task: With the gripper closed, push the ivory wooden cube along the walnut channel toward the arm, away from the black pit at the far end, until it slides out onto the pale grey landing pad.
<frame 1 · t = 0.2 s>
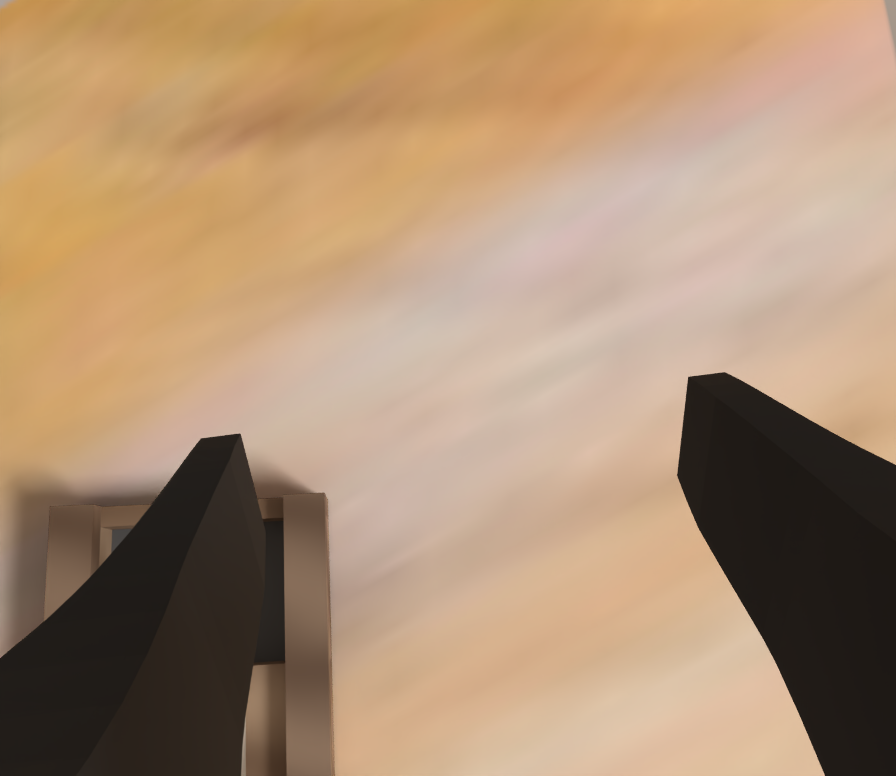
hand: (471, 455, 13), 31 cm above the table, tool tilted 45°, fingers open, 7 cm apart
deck: (199, 774, 39), on the table
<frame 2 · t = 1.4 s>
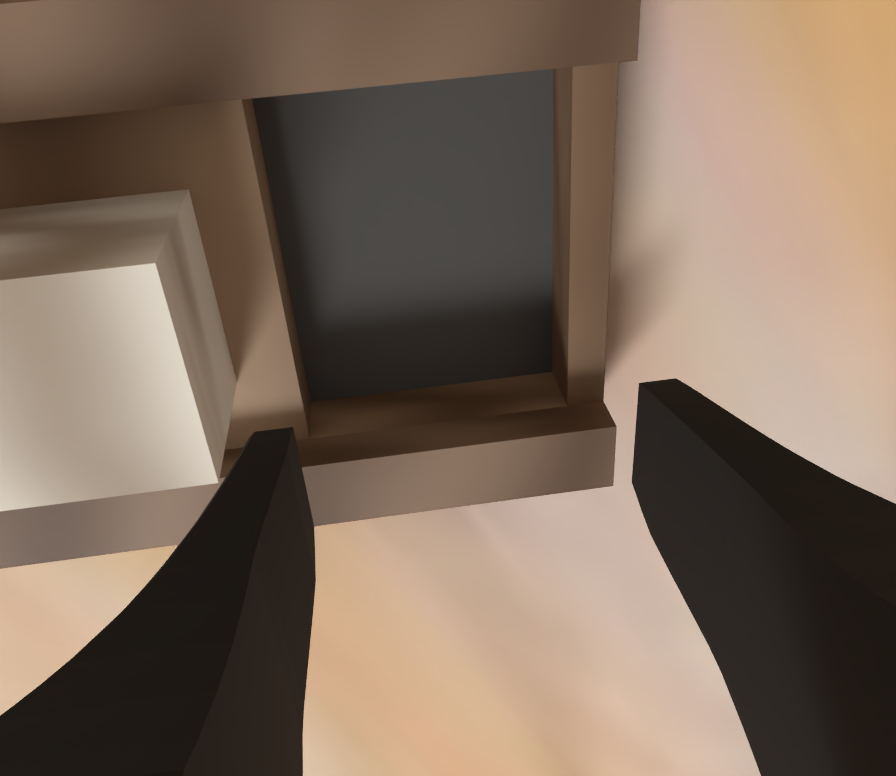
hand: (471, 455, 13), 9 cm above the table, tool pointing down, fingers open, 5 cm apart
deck: (84, 274, 20), on the table
cube: (105, 305, 19), point 2 cm above the table, touching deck
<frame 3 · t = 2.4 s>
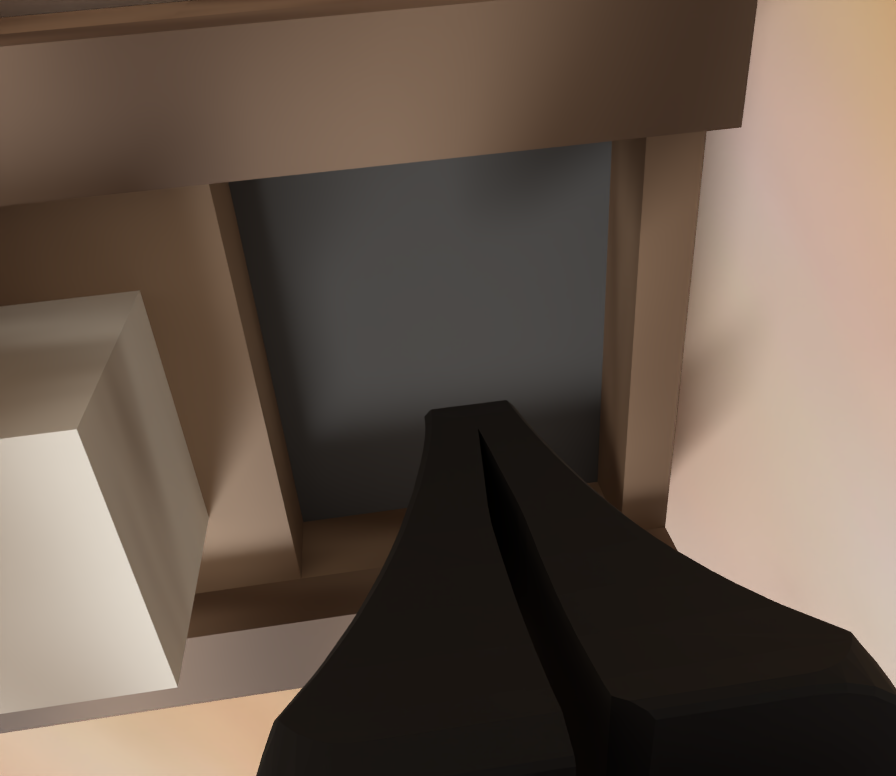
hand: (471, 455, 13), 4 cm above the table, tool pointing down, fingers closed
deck: (15, 381, 16), on the table
cube: (36, 432, 14), point 2 cm above the table, touching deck
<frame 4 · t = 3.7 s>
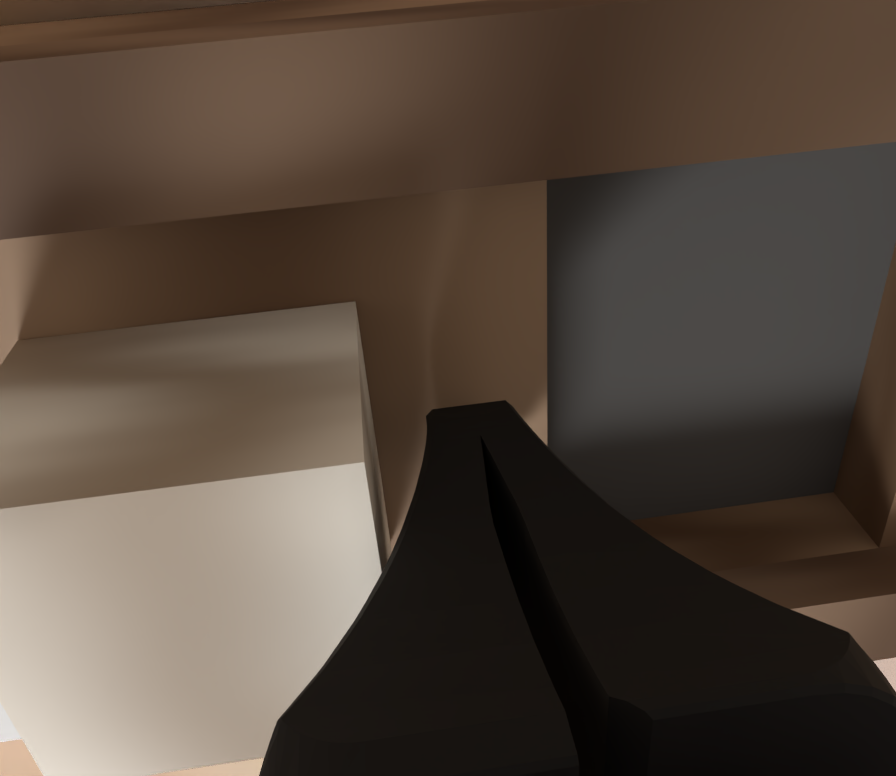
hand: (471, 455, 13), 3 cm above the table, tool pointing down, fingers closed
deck: (262, 387, 15), on the table
cube: (225, 453, 13), point 2 cm above the table, touching gripper
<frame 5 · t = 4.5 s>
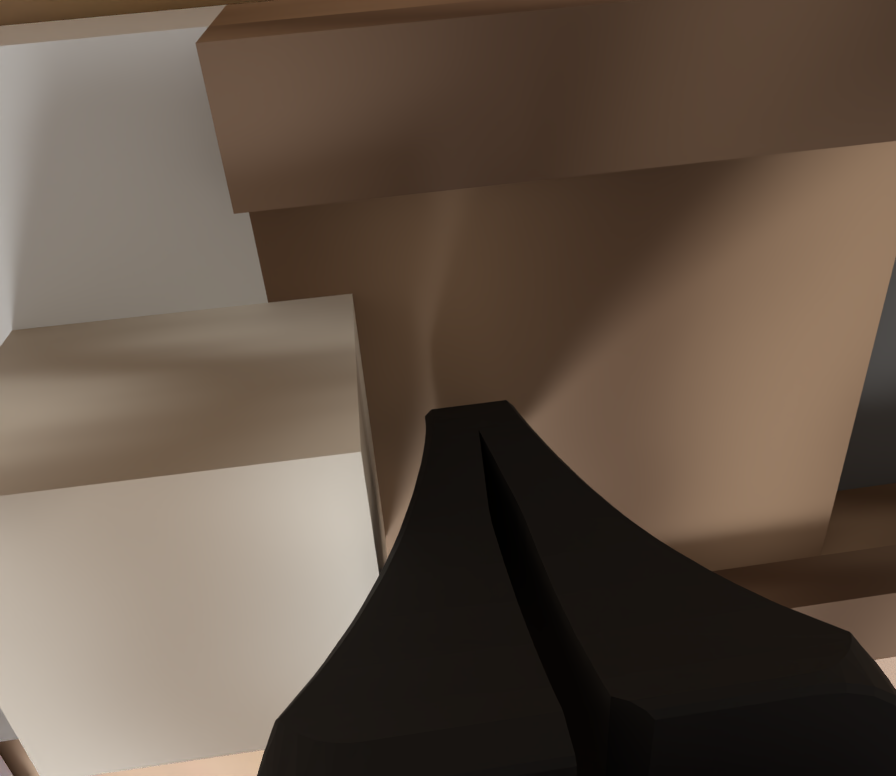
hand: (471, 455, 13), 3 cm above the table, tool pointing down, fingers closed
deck: (561, 349, 16), on the table
cube: (220, 445, 13), point 2 cm above the table, touching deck, gripper
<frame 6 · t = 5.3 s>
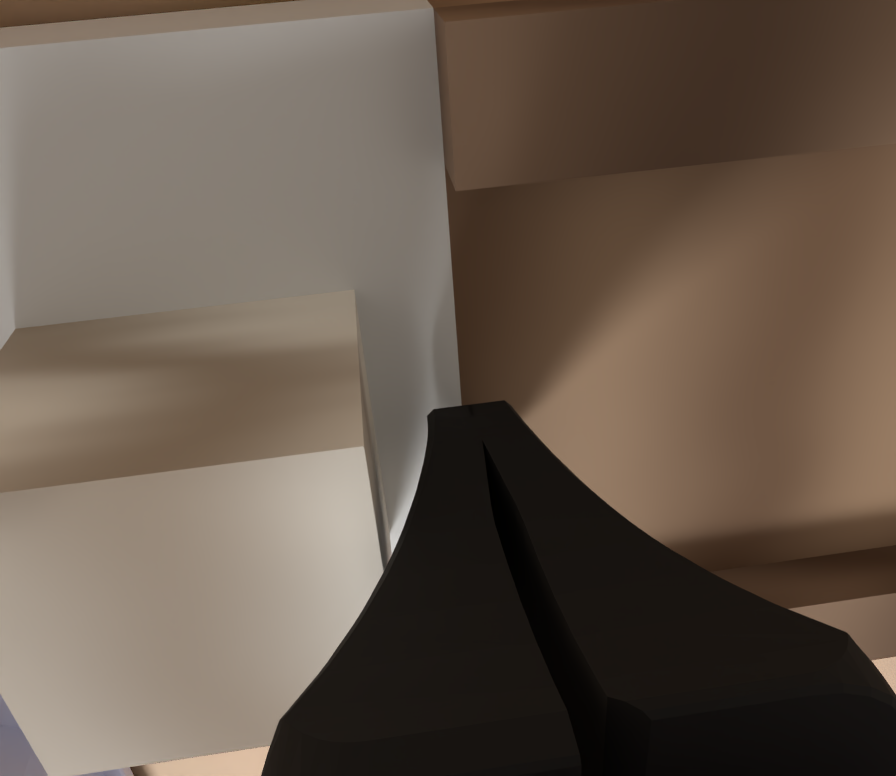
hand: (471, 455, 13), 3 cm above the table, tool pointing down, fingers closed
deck: (700, 333, 16), on the table
cube: (223, 443, 13), point 2 cm above the table, touching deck, gripper
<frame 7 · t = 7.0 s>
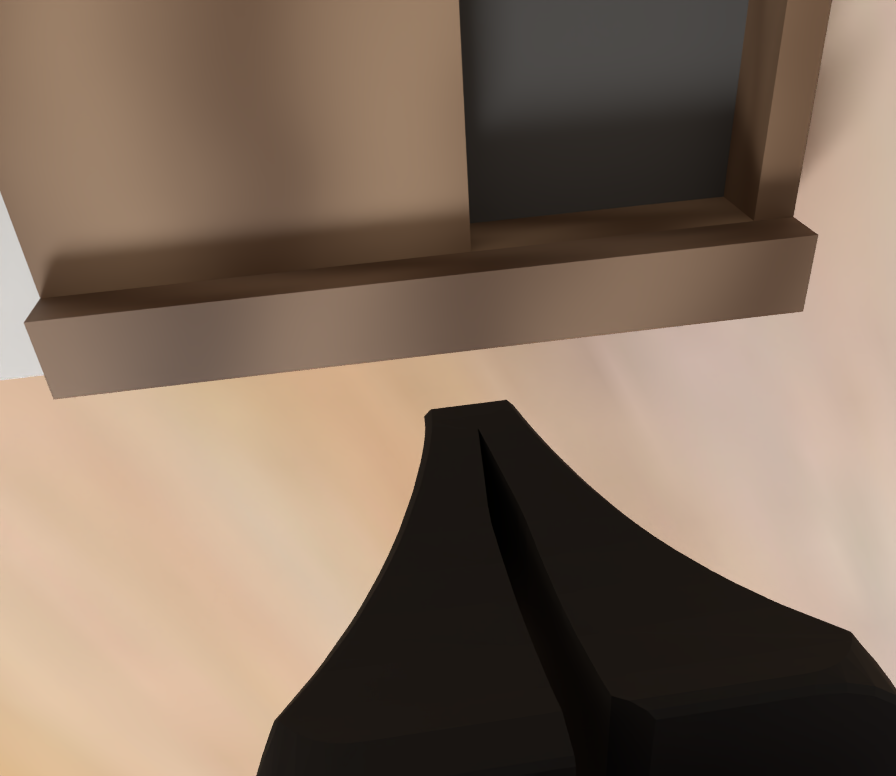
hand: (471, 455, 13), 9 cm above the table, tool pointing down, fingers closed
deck: (228, 54, 18), on the table
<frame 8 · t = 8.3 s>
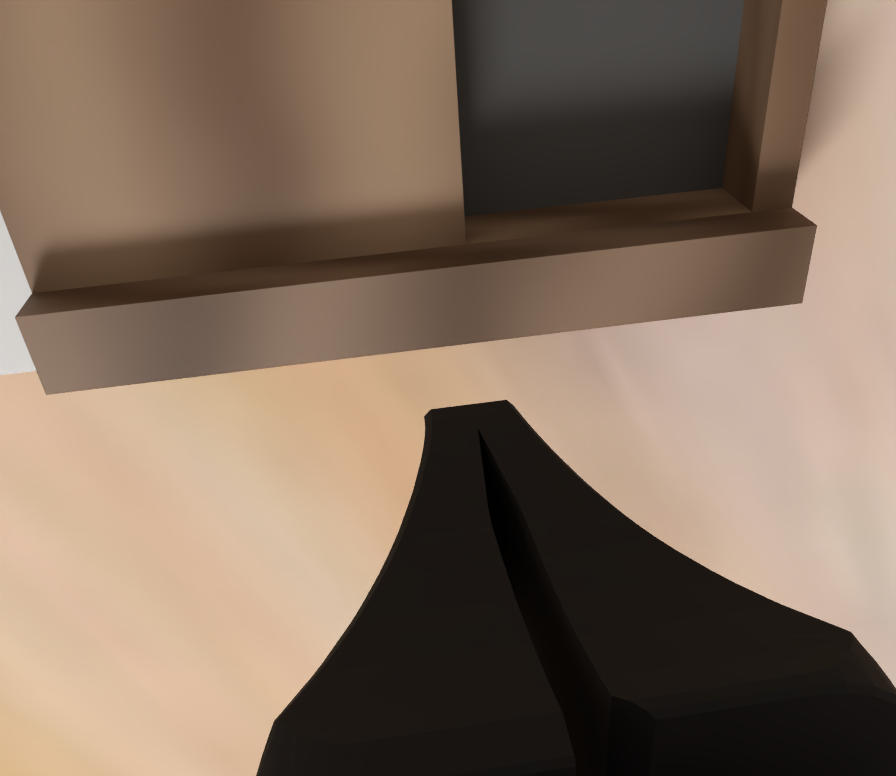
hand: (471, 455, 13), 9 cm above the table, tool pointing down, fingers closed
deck: (219, 45, 18), on the table
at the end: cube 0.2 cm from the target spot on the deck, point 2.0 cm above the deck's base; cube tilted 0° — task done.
